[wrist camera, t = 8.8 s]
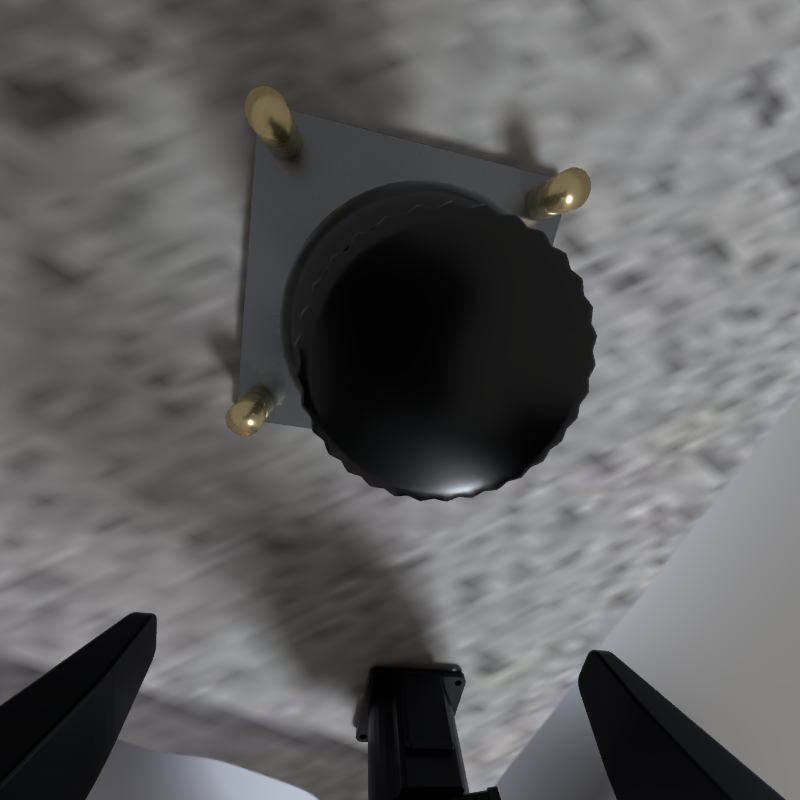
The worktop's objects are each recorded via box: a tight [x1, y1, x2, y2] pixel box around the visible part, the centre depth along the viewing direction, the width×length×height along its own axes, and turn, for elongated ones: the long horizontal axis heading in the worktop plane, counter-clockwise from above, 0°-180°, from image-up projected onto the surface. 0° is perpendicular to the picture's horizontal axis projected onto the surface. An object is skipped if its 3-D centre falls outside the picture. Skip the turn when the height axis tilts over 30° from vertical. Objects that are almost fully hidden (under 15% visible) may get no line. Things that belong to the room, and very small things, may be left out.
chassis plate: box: [226, 86, 591, 436], centre depth 16 cm, size 13×13×3 cm
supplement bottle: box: [280, 180, 597, 501], centre depth 11 cm, size 7×7×12 cm
